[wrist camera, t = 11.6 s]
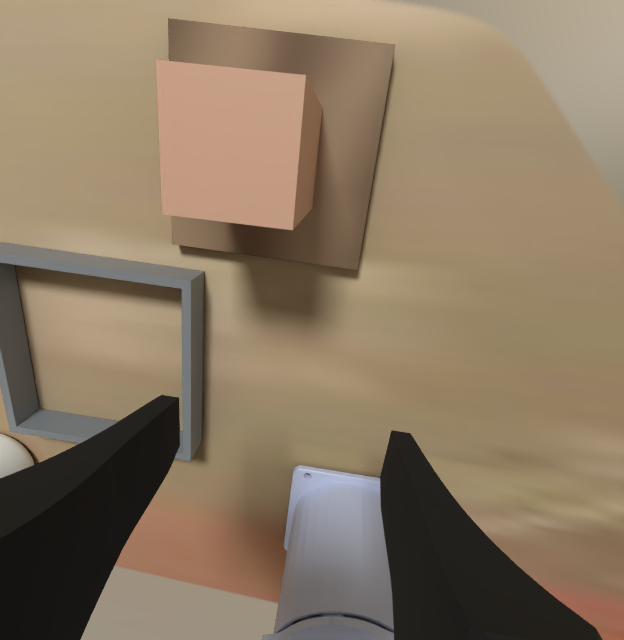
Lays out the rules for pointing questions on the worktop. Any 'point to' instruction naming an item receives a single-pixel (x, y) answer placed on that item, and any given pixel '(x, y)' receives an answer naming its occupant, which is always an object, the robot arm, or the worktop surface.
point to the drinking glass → (13, 456)
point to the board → (334, 141)
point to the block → (237, 144)
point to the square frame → (14, 357)
